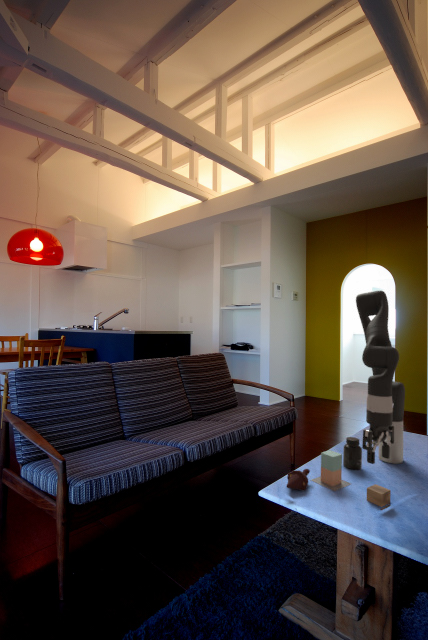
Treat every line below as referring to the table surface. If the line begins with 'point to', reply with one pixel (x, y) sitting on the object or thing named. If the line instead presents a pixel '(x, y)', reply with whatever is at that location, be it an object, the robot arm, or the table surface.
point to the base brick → (331, 476)
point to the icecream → (298, 479)
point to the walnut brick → (378, 495)
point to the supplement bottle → (352, 454)
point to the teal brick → (331, 460)
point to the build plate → (334, 488)
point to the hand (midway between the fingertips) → (378, 460)
